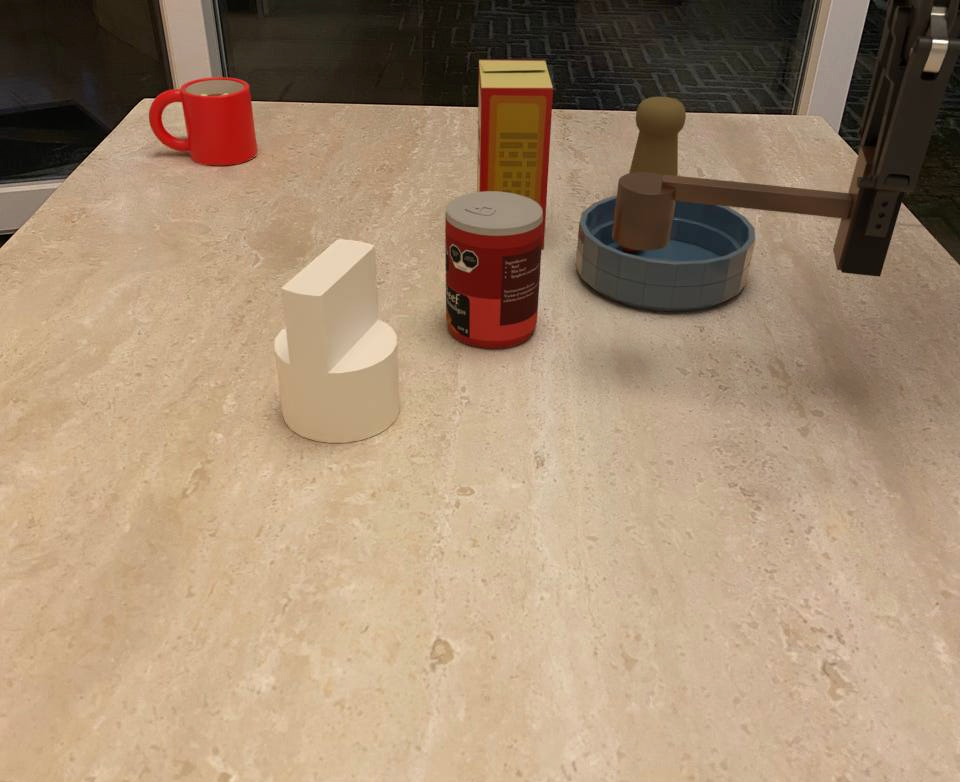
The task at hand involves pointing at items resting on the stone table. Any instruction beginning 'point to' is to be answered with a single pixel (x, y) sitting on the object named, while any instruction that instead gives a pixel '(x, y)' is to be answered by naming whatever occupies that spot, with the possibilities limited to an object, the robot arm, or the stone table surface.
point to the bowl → (668, 258)
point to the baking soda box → (514, 128)
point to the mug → (210, 120)
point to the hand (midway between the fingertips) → (857, 259)
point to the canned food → (492, 268)
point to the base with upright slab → (337, 349)
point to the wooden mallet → (724, 203)
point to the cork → (658, 135)
